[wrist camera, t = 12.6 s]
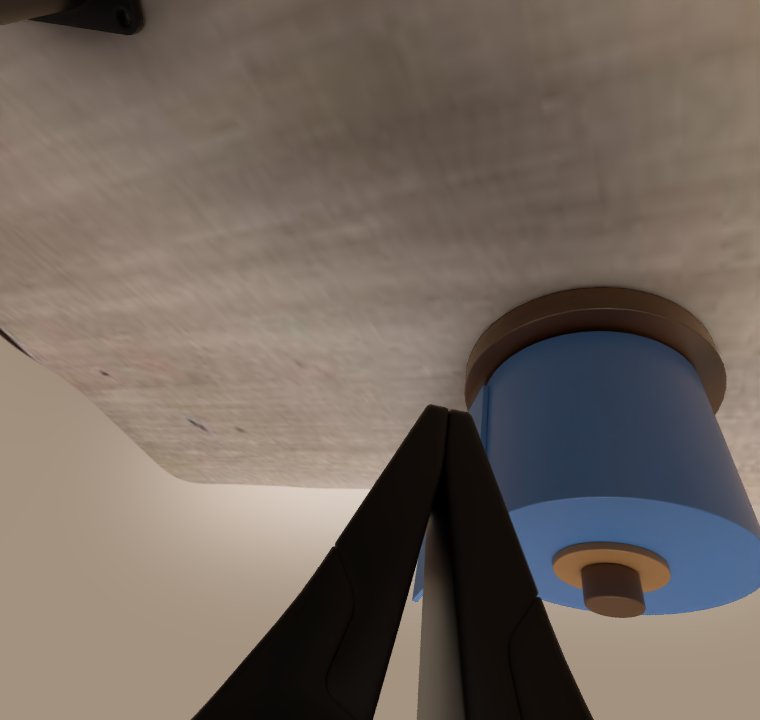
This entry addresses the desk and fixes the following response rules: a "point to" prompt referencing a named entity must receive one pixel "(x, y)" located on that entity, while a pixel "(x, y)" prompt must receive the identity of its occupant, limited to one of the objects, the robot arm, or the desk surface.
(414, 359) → the desk surface
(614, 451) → the towel roll
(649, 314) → the holder
